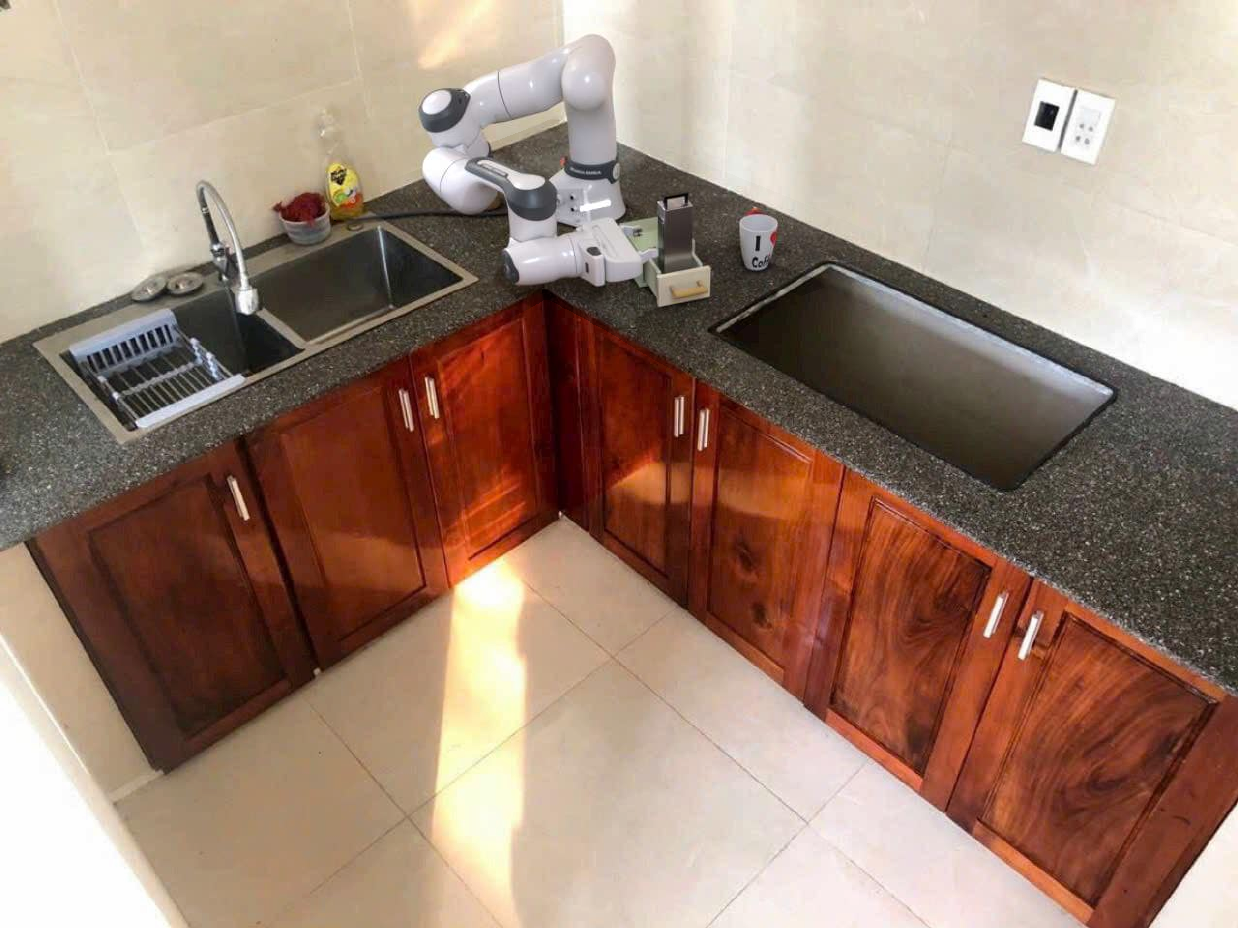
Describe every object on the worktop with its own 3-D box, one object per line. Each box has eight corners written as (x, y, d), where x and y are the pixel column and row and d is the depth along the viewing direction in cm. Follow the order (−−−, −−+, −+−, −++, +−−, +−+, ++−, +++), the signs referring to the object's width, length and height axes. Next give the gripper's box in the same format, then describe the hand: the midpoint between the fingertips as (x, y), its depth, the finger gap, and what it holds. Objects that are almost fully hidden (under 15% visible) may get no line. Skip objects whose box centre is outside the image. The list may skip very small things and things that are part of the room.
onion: (766, 233, 231) (768, 201, 226) (766, 245, 227) (769, 213, 221) (741, 232, 232) (743, 200, 226) (741, 244, 227) (743, 212, 222)
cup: (750, 277, 216) (753, 235, 210) (730, 261, 222) (732, 220, 215) (781, 267, 219) (785, 226, 212) (761, 252, 224) (763, 211, 218)
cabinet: (694, 276, 217) (695, 241, 211) (639, 287, 214) (639, 251, 209) (672, 248, 227) (672, 213, 221) (620, 258, 224) (618, 223, 219)
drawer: (717, 306, 206) (718, 277, 201) (665, 317, 203) (665, 288, 199) (688, 268, 218) (688, 240, 214) (638, 278, 215) (638, 250, 211)
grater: (692, 286, 210) (694, 195, 197) (664, 292, 209) (664, 201, 195) (684, 276, 214) (685, 185, 200) (656, 281, 212) (656, 191, 199)
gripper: (570, 244, 209) (633, 232, 212) (599, 291, 194) (666, 278, 197) (568, 216, 205) (632, 205, 208) (598, 262, 190) (666, 249, 193)
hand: (649, 240), depth 203 cm, fingers open, 8 cm apart
